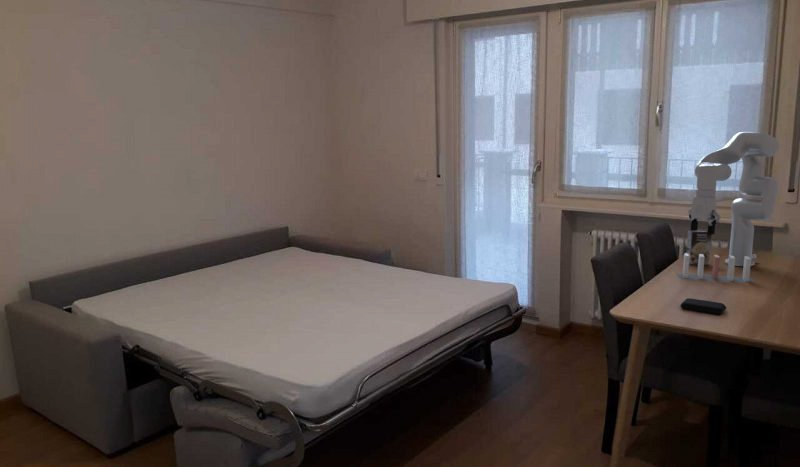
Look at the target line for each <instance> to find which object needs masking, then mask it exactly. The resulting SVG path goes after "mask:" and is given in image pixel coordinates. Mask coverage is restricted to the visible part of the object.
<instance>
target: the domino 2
mask: <svg viewBox="0 0 800 467" xmlns="http://www.w3.org/2000/svg"><path fill="white" fill-rule="evenodd" d="M704 258H705V257H704V255H703V254H699V260H698V264H697V273H696V275H697V276H698V278H699V279H703V275H704V269H705V268H704V267H705V265H704Z"/></svg>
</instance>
